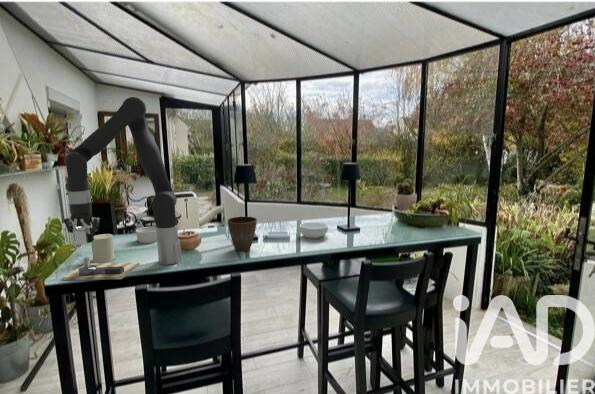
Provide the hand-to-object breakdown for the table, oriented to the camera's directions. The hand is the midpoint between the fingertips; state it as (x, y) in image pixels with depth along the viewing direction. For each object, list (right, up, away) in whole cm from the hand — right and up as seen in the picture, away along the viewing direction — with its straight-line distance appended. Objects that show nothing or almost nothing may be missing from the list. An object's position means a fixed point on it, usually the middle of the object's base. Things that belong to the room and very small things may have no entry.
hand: (84, 242), depth 135 cm
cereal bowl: (+98, -5, +57) cm, 113 cm away
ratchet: (+6, -13, +2) cm, 15 cm away
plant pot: (+60, -9, +35) cm, 70 cm away
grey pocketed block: (0, 0, 0) cm, 0 cm away
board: (+4, -14, +6) cm, 16 cm away
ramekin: (+3, -7, +53) cm, 53 cm away
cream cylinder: (-5, -12, +22) cm, 25 cm away
